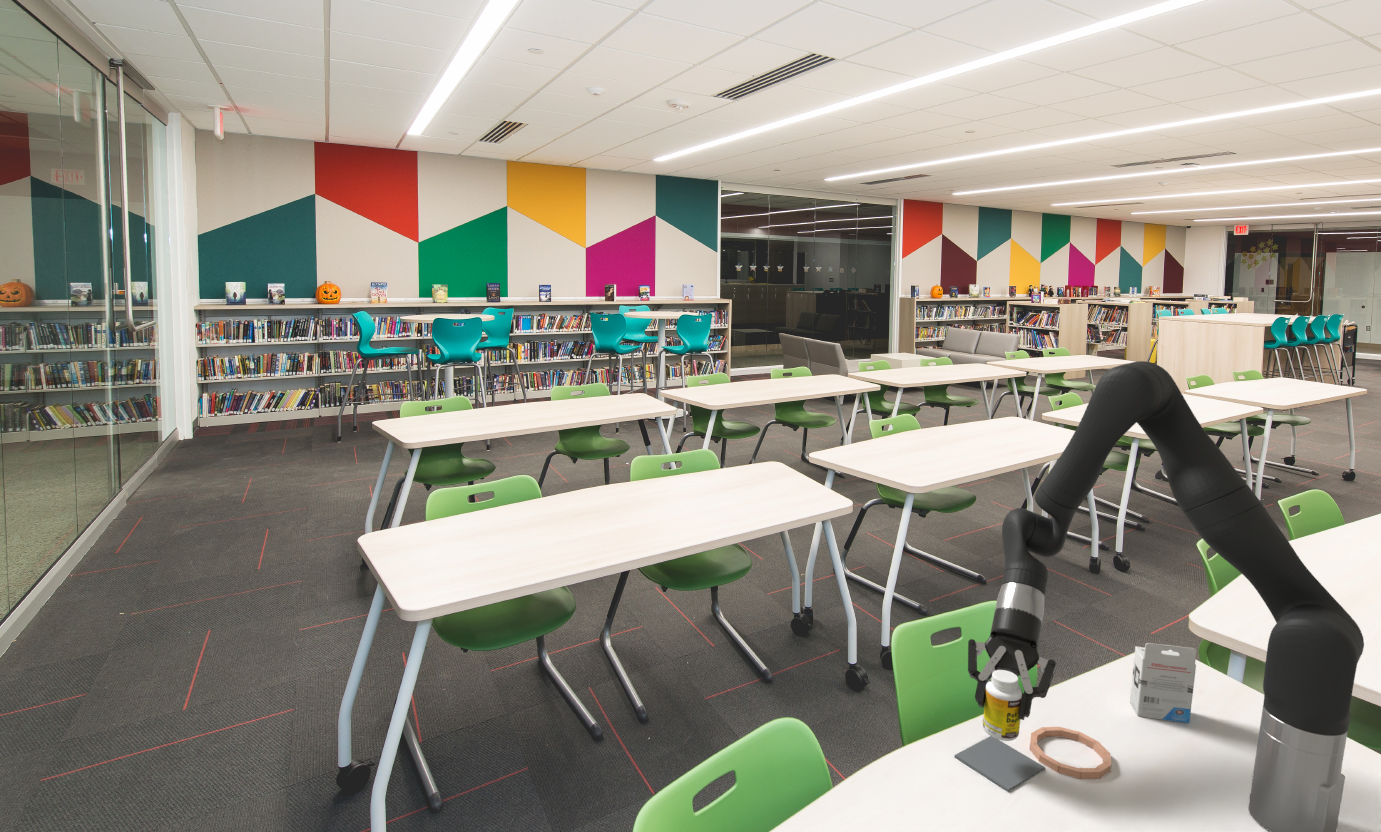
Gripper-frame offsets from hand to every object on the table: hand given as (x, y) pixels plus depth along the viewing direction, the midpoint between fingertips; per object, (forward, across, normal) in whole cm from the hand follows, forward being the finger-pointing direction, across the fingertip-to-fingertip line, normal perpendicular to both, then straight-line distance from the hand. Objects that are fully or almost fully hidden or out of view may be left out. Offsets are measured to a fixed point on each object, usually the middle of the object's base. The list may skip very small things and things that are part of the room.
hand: (1000, 711), depth 114 cm
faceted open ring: (0, +10, +14) cm, 18 cm away
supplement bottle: (+2, 0, +5) cm, 5 cm away
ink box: (-16, +23, +31) cm, 41 cm away
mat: (+6, 0, +8) cm, 10 cm away
